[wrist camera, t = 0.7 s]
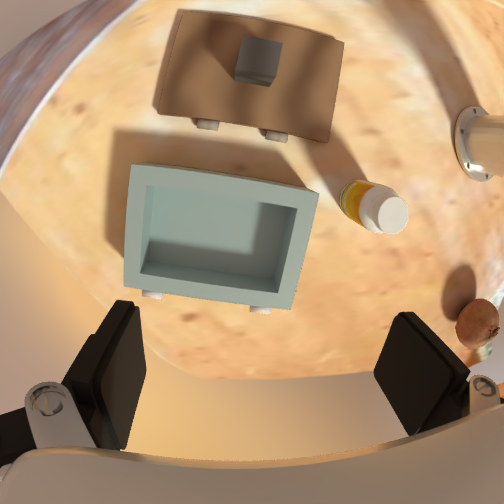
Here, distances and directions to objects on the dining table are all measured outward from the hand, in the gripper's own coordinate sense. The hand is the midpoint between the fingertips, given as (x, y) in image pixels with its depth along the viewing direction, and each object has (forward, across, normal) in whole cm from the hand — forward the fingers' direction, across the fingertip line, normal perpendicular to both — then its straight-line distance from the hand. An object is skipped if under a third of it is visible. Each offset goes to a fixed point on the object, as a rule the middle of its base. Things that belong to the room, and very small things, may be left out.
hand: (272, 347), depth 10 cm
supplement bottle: (+27, -15, -3) cm, 31 cm away
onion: (+27, -45, +15) cm, 54 cm away
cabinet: (+27, +3, +3) cm, 27 cm away
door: (+27, 0, -17) cm, 32 cm away
